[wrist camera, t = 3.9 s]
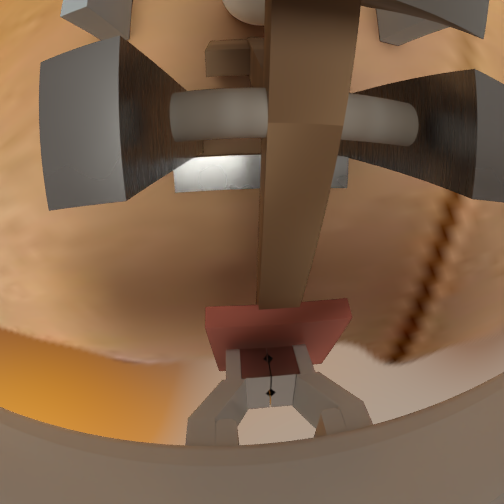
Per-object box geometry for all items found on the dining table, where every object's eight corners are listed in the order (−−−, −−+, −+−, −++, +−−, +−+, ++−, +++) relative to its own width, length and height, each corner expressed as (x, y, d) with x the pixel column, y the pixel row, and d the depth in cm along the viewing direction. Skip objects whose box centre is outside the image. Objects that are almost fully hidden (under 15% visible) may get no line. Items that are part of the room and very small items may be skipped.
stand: (344, 105, 13) (514, 90, 3) (343, 185, 14) (491, 282, 5) (172, 106, 12) (40, 62, 3) (177, 190, 14) (76, 310, 4)
